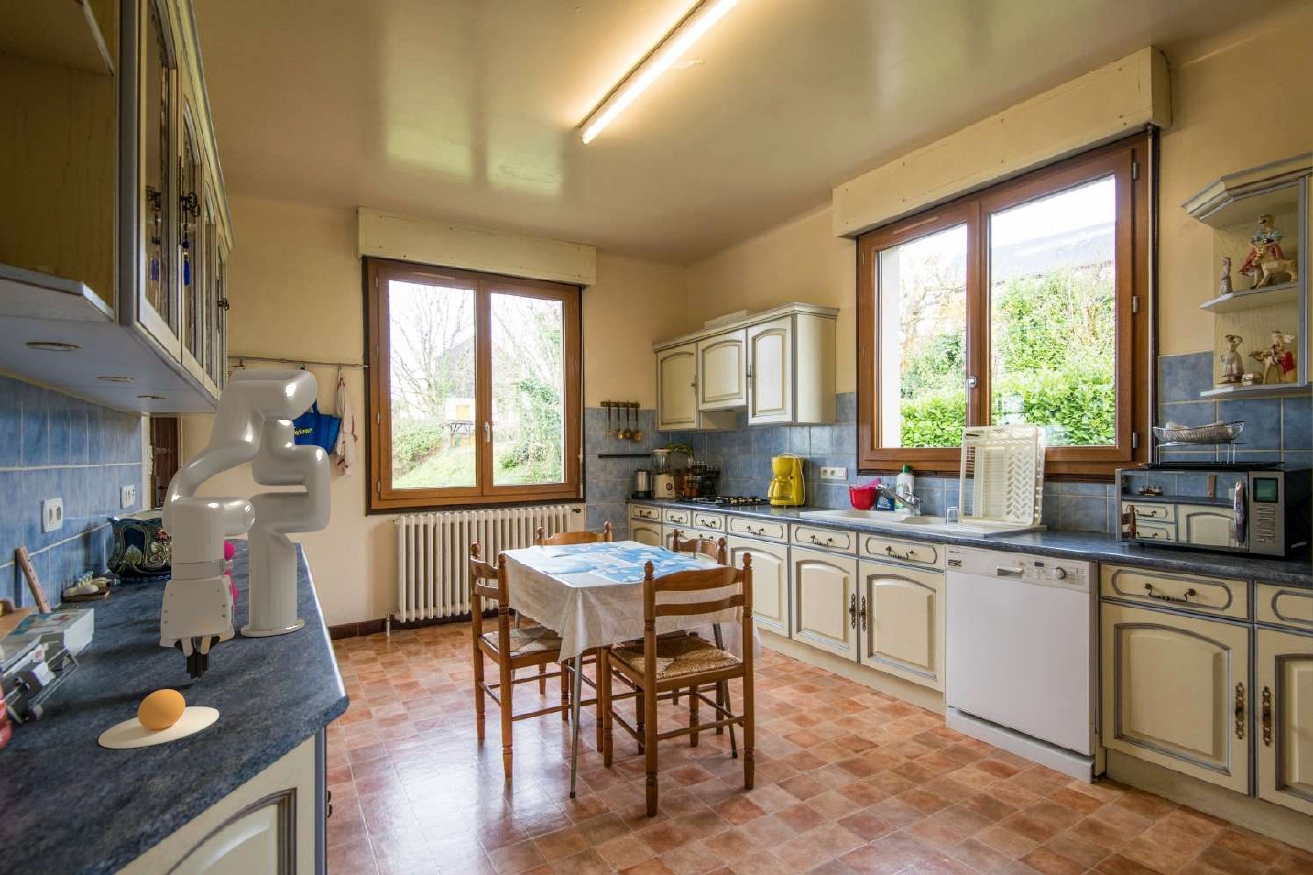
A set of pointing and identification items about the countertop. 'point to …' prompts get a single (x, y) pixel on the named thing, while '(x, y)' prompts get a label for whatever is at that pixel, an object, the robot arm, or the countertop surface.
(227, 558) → the pepper mill
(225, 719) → the countertop surface
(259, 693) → the countertop surface
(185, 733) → the disc
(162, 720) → the ball
